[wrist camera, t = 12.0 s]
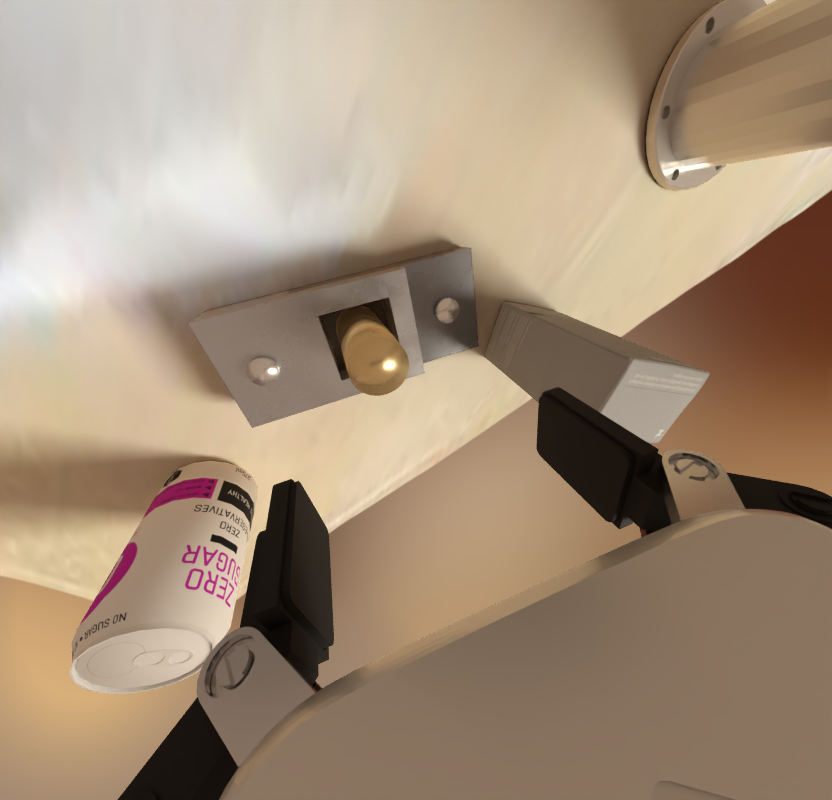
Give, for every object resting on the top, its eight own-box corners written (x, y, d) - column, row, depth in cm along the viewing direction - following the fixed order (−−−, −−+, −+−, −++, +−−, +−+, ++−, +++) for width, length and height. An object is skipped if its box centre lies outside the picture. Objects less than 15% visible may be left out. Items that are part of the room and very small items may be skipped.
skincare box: (560, 312, 33) (724, 362, 20) (535, 370, 36) (664, 447, 23) (498, 298, 30) (645, 347, 17) (477, 363, 33) (587, 448, 20)
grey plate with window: (460, 247, 27) (486, 249, 23) (469, 340, 31) (491, 354, 28) (205, 311, 23) (184, 326, 19) (259, 404, 28) (251, 431, 24)
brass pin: (373, 300, 26) (402, 329, 18) (383, 341, 29) (414, 384, 20) (329, 311, 26) (338, 348, 17) (343, 353, 28) (358, 403, 20)
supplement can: (154, 508, 30) (40, 707, 17) (181, 445, 27) (73, 621, 15) (241, 521, 34) (200, 690, 21) (270, 468, 31) (244, 621, 19)
